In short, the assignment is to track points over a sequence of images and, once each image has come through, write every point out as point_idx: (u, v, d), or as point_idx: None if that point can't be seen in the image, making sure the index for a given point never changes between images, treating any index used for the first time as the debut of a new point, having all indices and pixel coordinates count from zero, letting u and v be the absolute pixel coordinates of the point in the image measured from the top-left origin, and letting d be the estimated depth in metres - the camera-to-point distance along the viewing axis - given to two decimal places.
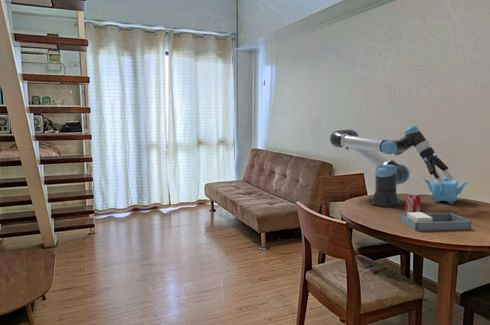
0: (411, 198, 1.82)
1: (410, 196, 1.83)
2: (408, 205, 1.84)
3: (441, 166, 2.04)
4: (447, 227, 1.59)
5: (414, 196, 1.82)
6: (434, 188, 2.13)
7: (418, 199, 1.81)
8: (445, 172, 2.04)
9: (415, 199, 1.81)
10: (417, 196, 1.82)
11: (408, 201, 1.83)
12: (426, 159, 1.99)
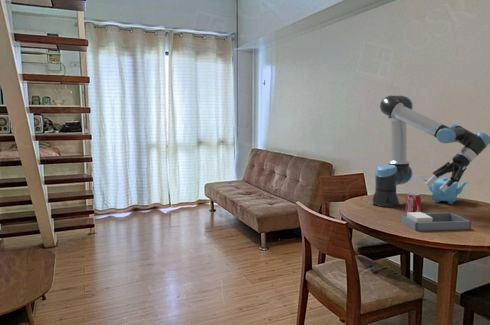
0: (411, 198, 1.82)
1: (410, 196, 1.83)
2: (408, 205, 1.84)
3: (441, 173, 1.89)
4: (447, 227, 1.59)
5: (414, 196, 1.82)
6: (434, 188, 2.13)
7: (418, 199, 1.81)
8: (434, 178, 1.90)
9: (415, 199, 1.81)
10: (417, 196, 1.82)
11: (408, 201, 1.83)
12: (464, 168, 1.76)
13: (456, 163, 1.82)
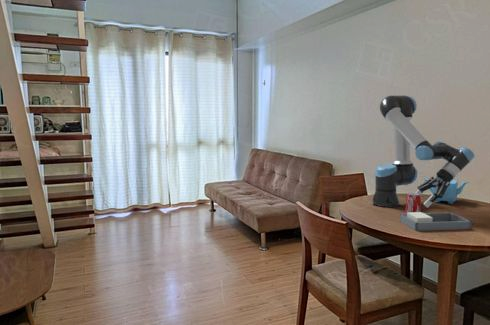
0: (411, 198, 1.82)
1: (410, 196, 1.83)
2: (408, 205, 1.84)
3: (426, 188, 1.88)
4: (447, 227, 1.59)
5: (414, 196, 1.82)
6: (434, 188, 2.13)
7: (418, 199, 1.81)
8: (419, 192, 1.90)
9: (415, 199, 1.81)
10: (417, 196, 1.82)
11: (408, 201, 1.83)
12: (447, 184, 1.76)
13: (440, 178, 1.82)
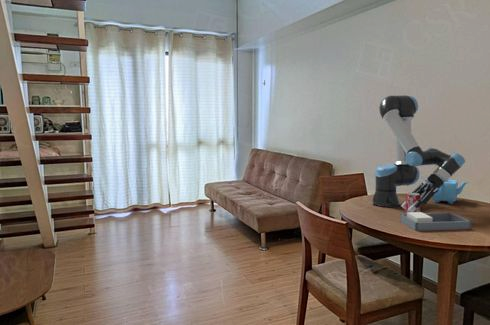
0: (411, 198, 1.82)
1: (410, 196, 1.83)
2: (408, 205, 1.84)
3: None
4: (447, 227, 1.59)
5: (414, 196, 1.82)
6: None
7: None
8: None
9: (415, 199, 1.81)
10: (417, 196, 1.82)
11: (408, 201, 1.83)
12: (435, 191, 1.78)
13: (430, 183, 1.83)
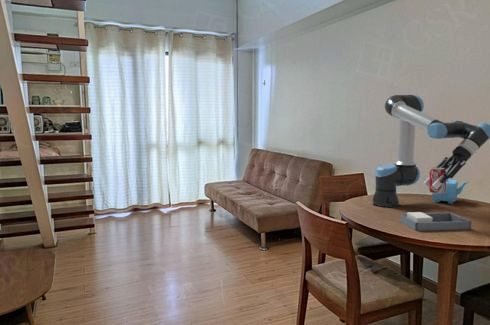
0: (435, 172, 1.66)
1: (434, 170, 1.67)
2: (432, 180, 1.68)
3: None
4: (447, 227, 1.59)
5: (439, 170, 1.66)
6: None
7: None
8: None
9: (440, 173, 1.65)
10: (442, 170, 1.66)
11: (432, 176, 1.67)
12: (463, 163, 1.62)
13: (456, 156, 1.67)
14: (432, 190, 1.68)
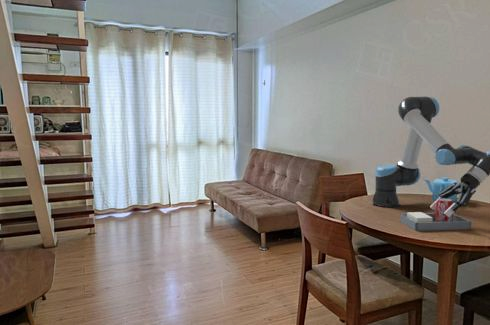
0: (443, 204, 1.63)
1: (441, 202, 1.64)
2: (439, 212, 1.65)
3: (448, 195, 1.70)
4: (447, 227, 1.59)
5: (446, 202, 1.63)
6: (434, 188, 2.13)
7: (450, 205, 1.63)
8: None
9: (447, 205, 1.62)
10: (449, 202, 1.63)
11: (439, 208, 1.64)
12: (473, 191, 1.58)
13: (464, 184, 1.64)
14: None
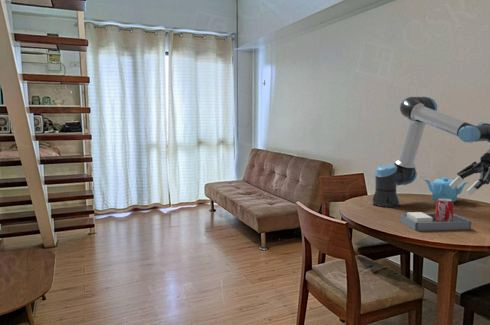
0: (443, 204, 1.63)
1: (441, 202, 1.64)
2: (439, 212, 1.65)
3: (467, 174, 1.70)
4: (447, 227, 1.59)
5: (446, 202, 1.63)
6: (434, 188, 2.13)
7: (451, 205, 1.62)
8: (459, 179, 1.71)
9: (447, 205, 1.62)
10: (449, 202, 1.63)
11: (439, 208, 1.64)
12: None
13: (485, 163, 1.64)
14: None
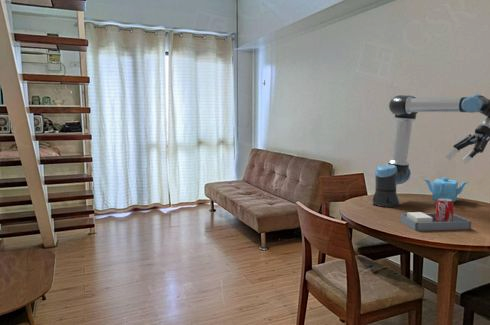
0: (443, 204, 1.63)
1: (441, 202, 1.64)
2: (439, 212, 1.65)
3: (463, 146, 1.83)
4: (447, 227, 1.59)
5: (446, 202, 1.63)
6: (434, 188, 2.13)
7: (451, 205, 1.62)
8: (455, 151, 1.84)
9: (447, 205, 1.62)
10: (449, 202, 1.63)
11: (439, 207, 1.64)
12: (488, 139, 1.70)
13: (479, 134, 1.76)
14: None
